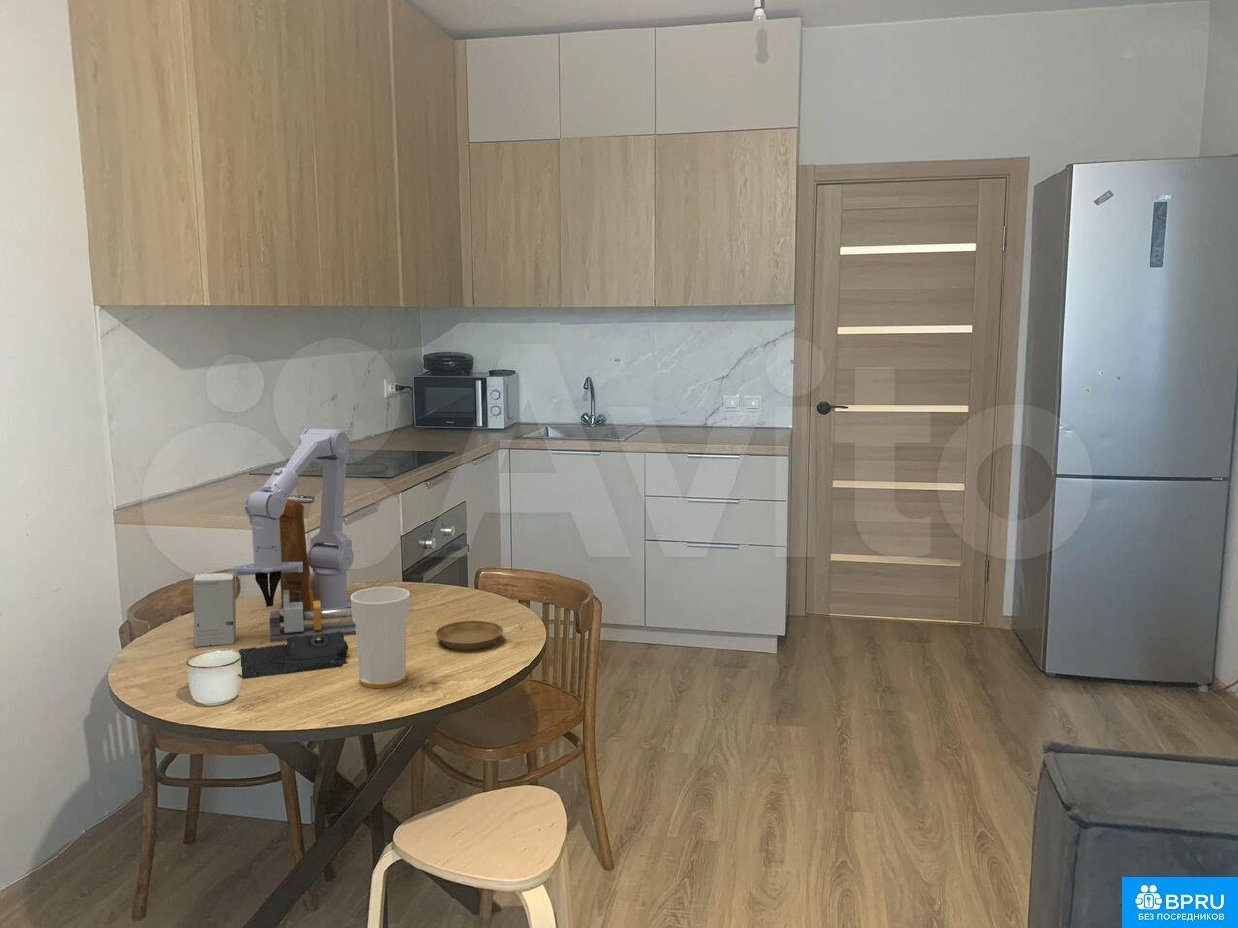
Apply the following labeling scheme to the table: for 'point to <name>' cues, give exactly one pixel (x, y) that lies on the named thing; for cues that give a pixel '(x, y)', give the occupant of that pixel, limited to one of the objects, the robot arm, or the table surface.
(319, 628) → the orange wooden block
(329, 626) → the board
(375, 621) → the cup
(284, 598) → the sleeve
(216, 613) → the skincare box
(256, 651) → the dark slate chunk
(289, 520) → the pancake mix bag
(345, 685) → the table surface
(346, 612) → the pipe
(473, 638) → the plant saucer
